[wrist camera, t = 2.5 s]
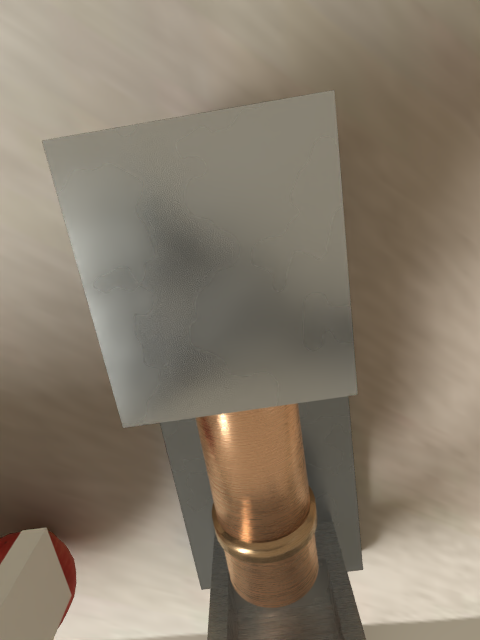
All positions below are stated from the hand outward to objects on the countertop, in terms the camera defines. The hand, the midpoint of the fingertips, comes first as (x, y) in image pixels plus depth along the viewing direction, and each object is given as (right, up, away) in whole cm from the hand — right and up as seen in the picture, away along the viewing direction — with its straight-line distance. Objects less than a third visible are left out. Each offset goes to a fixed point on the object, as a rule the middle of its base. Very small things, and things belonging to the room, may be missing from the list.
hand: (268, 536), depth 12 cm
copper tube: (-1, +5, +6) cm, 7 cm away
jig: (0, +3, +10) cm, 11 cm away
